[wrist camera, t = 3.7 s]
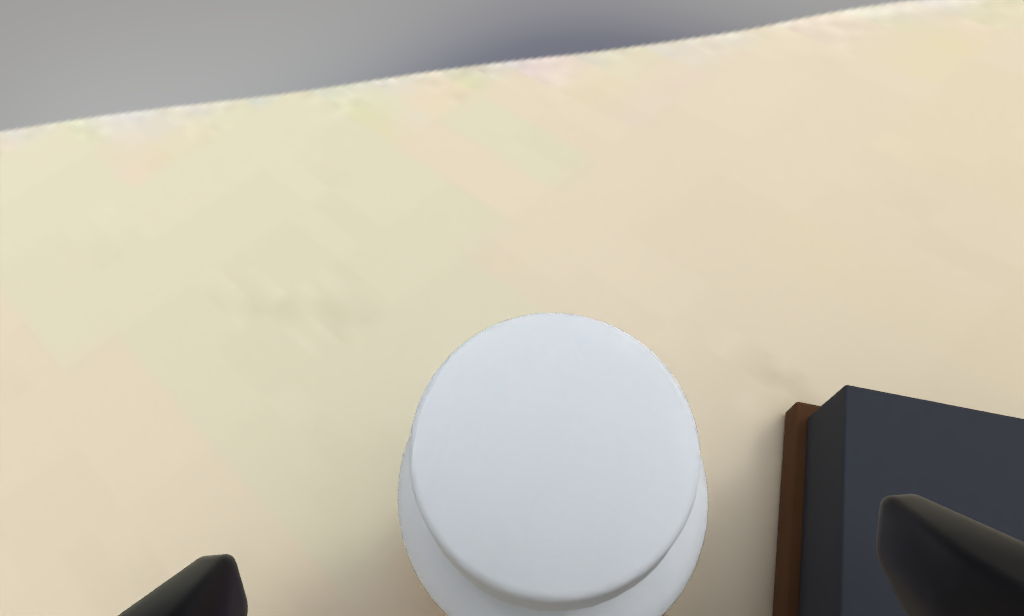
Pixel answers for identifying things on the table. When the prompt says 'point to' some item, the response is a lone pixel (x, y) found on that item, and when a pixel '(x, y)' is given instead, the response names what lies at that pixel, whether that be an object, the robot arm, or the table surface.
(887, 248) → the table surface
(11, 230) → the table surface
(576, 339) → the pill bottle
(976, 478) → the blackboard eraser
